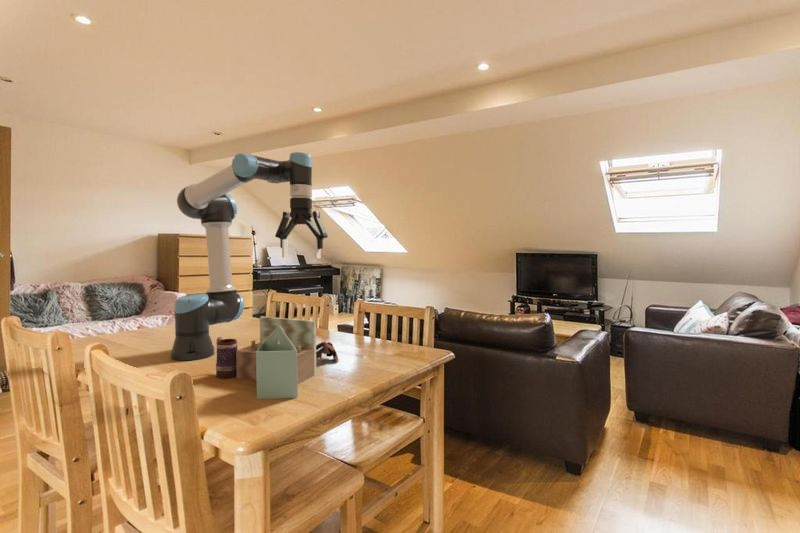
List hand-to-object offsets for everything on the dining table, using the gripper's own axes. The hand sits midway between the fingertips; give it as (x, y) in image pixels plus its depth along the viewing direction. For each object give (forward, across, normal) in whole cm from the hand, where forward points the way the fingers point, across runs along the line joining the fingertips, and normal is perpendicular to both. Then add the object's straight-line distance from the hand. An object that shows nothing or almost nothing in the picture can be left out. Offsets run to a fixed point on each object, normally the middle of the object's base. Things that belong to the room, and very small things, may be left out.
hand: (301, 258), depth 149 cm
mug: (+39, -17, -19) cm, 46 cm away
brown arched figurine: (+39, +6, +6) cm, 40 cm away
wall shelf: (+38, 0, -15) cm, 41 cm away
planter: (+38, +9, -29) cm, 49 cm away
